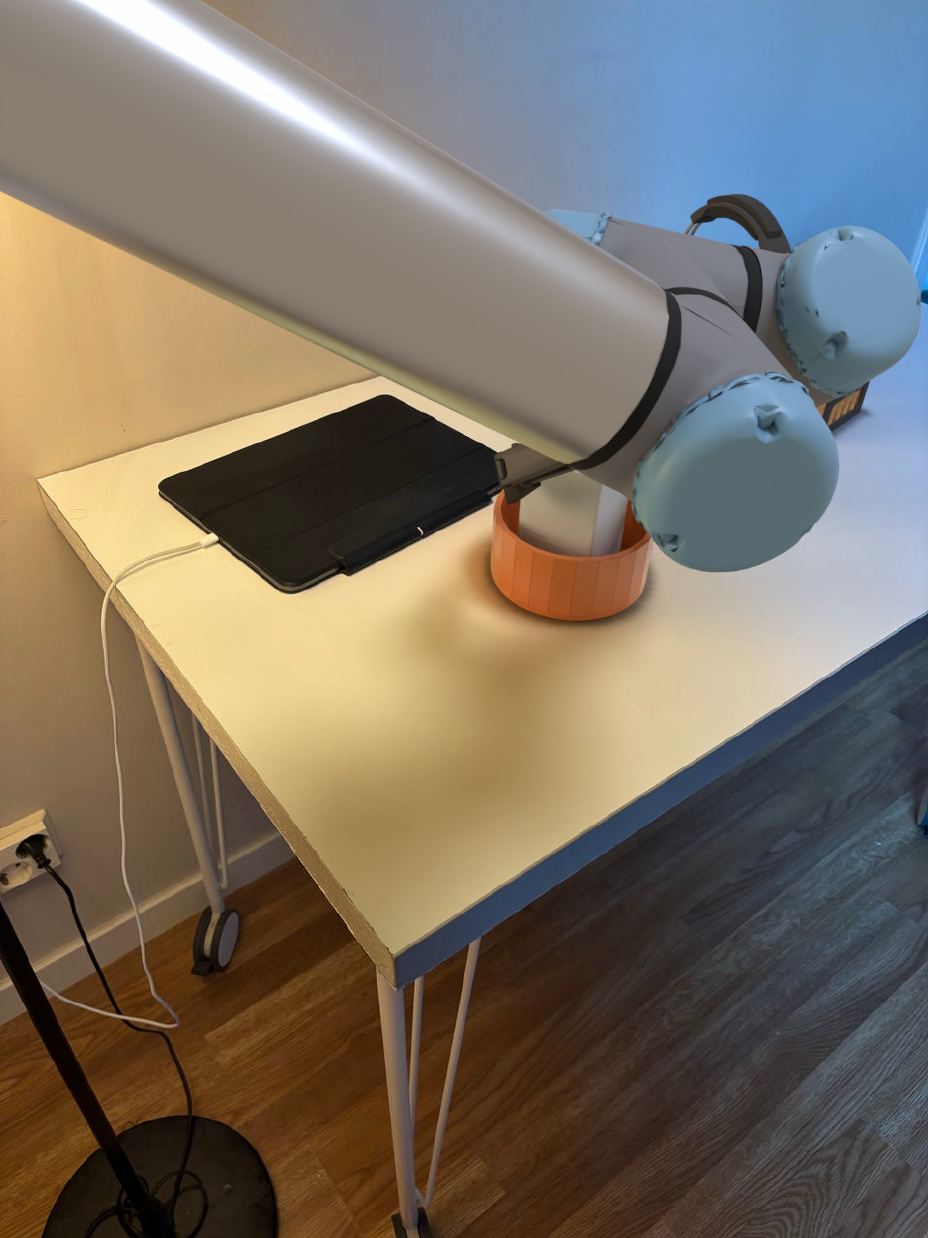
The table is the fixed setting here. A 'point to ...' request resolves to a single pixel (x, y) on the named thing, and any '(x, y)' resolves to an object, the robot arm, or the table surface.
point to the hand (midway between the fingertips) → (582, 475)
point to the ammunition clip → (843, 408)
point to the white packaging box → (573, 517)
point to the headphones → (744, 220)
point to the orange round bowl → (567, 571)
